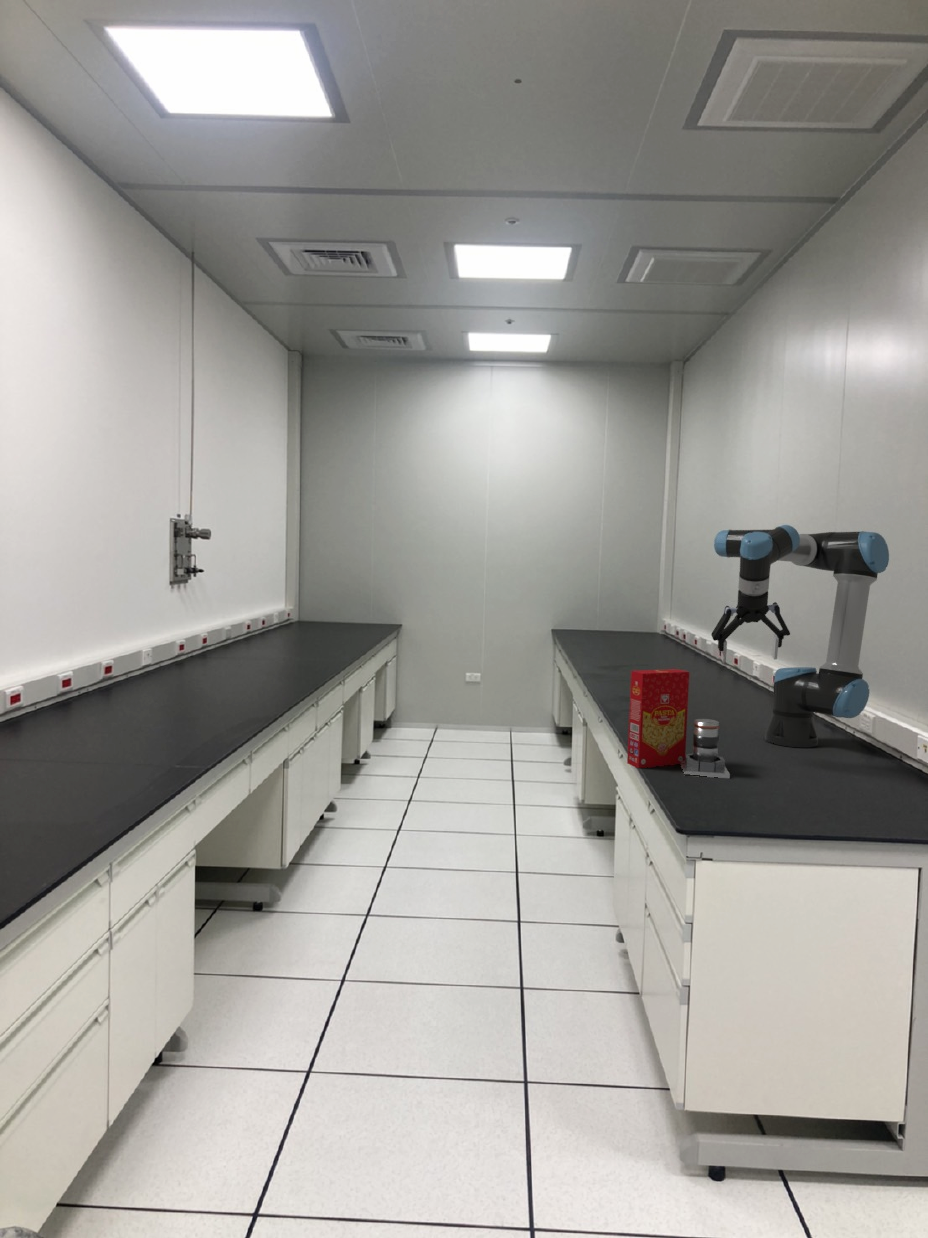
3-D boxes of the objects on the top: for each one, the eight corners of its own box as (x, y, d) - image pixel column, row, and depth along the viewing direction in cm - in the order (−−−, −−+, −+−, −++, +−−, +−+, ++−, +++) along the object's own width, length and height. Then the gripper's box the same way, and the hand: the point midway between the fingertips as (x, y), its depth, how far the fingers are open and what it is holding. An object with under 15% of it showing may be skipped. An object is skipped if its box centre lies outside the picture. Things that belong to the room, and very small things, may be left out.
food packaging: (638, 768, 213) (642, 673, 211) (627, 763, 218) (631, 670, 216) (684, 764, 218) (689, 672, 216) (672, 759, 223) (677, 669, 221)
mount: (722, 767, 216) (723, 754, 216) (729, 778, 205) (730, 764, 205) (680, 764, 218) (680, 751, 217) (684, 775, 207) (685, 761, 206)
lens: (715, 764, 214) (717, 719, 213) (718, 770, 208) (721, 724, 207) (690, 763, 215) (692, 718, 214) (693, 769, 209) (695, 723, 208)
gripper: (707, 600, 212) (705, 668, 222) (806, 593, 209) (799, 662, 220) (702, 587, 218) (699, 654, 229) (797, 580, 216) (791, 648, 226)
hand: (748, 658), depth 224 cm, fingers open, 13 cm apart
